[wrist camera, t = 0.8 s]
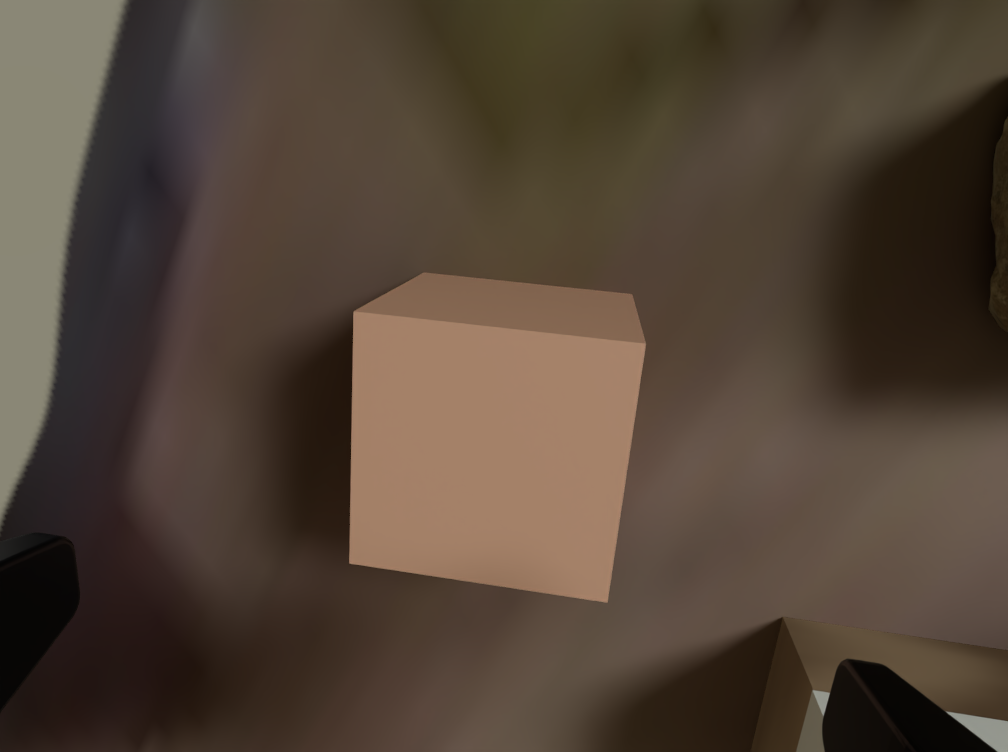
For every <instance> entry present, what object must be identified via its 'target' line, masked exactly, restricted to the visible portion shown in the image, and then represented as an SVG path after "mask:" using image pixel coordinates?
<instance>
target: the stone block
mask: <svg viewBox="0 0 1008 752" xmlns="http://www.w3.org/2000/svg"><path fill="white" fill-rule="evenodd" d="M991 210H992V211H991V222H992V225H993V229H994V232H995V256H996V268H995V270H994V272H993V275H992V277H991V296H990V302H989V308H988V309H989V311H990V312H991V314H992V315H993V317H994V319H995V320H996V322H997V324H998V325H999V327H1000V328H1002V329H1003V330H1004V331H1006V332H1007V333H1008V117H1007V119H1006V120H1005V123H1004V129H1003V134H1002V136H1001V138H1000V139H999V141H998V143H997V144H996V150H995V156H994V163H993V195H992V198H991Z"/></svg>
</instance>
